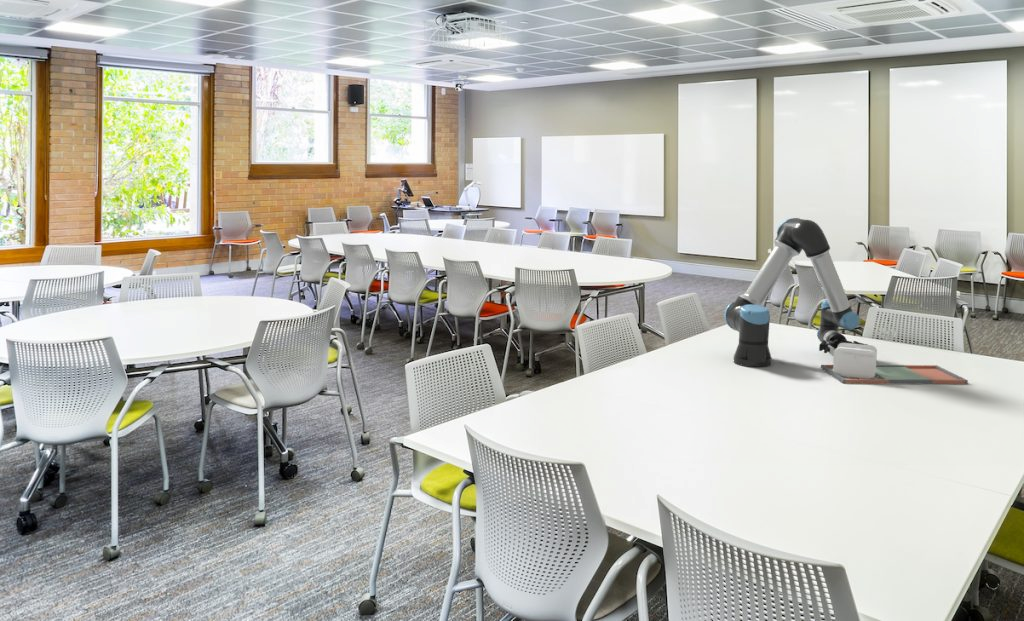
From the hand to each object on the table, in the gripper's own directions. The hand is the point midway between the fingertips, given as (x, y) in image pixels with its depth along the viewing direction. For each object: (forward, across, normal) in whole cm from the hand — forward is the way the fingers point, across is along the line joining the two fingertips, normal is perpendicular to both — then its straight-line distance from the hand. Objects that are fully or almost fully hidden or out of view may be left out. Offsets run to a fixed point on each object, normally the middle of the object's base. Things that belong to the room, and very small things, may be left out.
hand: (851, 352), depth 313 cm
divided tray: (+7, -13, -7) cm, 17 cm away
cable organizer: (+8, +1, -8) cm, 11 cm away
